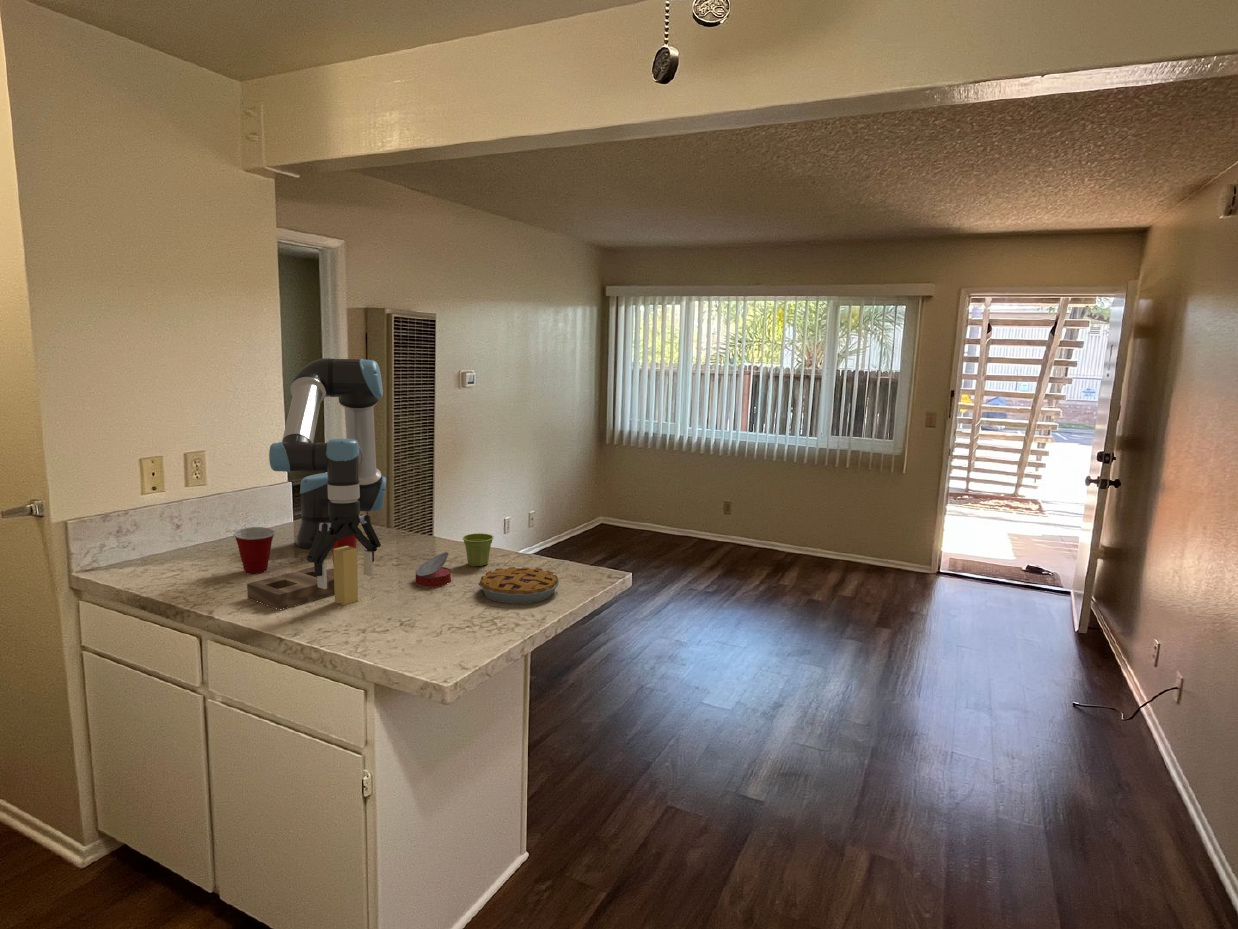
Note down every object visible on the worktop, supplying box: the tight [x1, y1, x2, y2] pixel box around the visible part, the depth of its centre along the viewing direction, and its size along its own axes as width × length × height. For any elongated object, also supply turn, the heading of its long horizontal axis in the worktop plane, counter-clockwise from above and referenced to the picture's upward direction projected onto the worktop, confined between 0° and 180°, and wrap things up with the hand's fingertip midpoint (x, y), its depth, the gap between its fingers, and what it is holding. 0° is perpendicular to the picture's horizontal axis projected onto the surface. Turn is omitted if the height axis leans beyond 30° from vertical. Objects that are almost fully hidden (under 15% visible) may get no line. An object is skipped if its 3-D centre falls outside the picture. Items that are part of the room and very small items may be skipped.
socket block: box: [246, 566, 335, 611], centre depth 187 cm, size 20×14×4 cm
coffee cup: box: [330, 529, 358, 567], centre depth 209 cm, size 8×8×15 cm
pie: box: [478, 566, 560, 604], centre depth 194 cm, size 22×22×5 cm
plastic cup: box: [232, 526, 276, 575], centre depth 204 cm, size 11×11×12 cm
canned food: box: [415, 551, 452, 588], centre depth 200 cm, size 11×10×10 cm
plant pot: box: [462, 532, 495, 567], centre depth 218 cm, size 9×9×9 cm
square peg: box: [333, 546, 359, 606], centre depth 182 cm, size 4×4×14 cm
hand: (345, 581), depth 182 cm, fingers open, 13 cm apart
